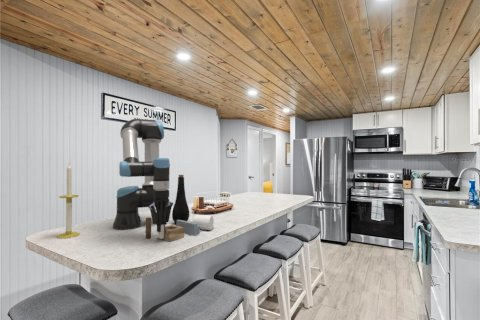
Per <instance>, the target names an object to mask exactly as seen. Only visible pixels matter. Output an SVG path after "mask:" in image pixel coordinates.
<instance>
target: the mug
mask: <svg viewBox="0 0 480 320" xmlns="http://www.w3.org/2000/svg"><path fill="white" fill-rule="evenodd" d="M192 223H197V225H198V226H200V231H201V230H202V231H203V230H204V231H212V230H213V227H214V216H213V215H206V214H205V215H204V214H194V216H193V218H192Z"/></svg>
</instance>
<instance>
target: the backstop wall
mask: <svg viewBox="0 0 480 320" xmlns="http://www.w3.org/2000/svg"><path fill="white" fill-rule="evenodd" d="M175 225H176V226H181V227H184V235H190V236H193V237H194V236H195V237H196V236H198V234H201V230H200V226H198V225H197V223H192V222H191V221H189V220H188V221H183V220H176V224H175Z"/></svg>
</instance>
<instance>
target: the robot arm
mask: <svg viewBox="0 0 480 320" xmlns="http://www.w3.org/2000/svg"><path fill="white" fill-rule="evenodd" d="M164 128H165V127H164V125H163V122H162V121H160V120H158V119H157V120H156V119H146V118H145V119H142V118H133V119H132V118H131V119H130V120H128V121H126V122H125V123H124V124H123V125H122V126H121V129H120V132H119V133H120V138H121V140H122V160H123V161H119V163H118V164H119V166H118V168H119V169H118V170H119V176H120V177H123V178H124V177H125V178H130V177H131V178H133V177H144V182H143V183H142V185H141V187H139V185H131V186H124V187H120V188H118V189H117V191H116V197H115V198H116V213H115V214H116V215H115V216H114V220H113V224H112V226H113V227H112V228H113V229H115V230H121V231H122V230H133V229H137V228H140V227H141V226H142V220H141V216H140V214H139V209H140V208H148V209H149V210H150V214H151V222H152V224H153V225H156V232H157V238H158V239H160V240H163V238H164V231H165V226H167V224H168V223H169V221H170V218H171V217H170V216H171V212H172V208H173V206H174V203H173V201H170V199H169V198H170V190H169V189H170V167H171V163H170V158H168V157H160V144H161V143H162V140H164V137H165V129H164ZM138 138H139V139H141V141H142V143H143V144H144V161H140V156H139V146H138Z"/></svg>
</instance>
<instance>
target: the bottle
mask: <svg viewBox="0 0 480 320" xmlns="http://www.w3.org/2000/svg"><path fill="white" fill-rule="evenodd" d="M185 188H186V187H185V177H184V174H178V177H177V191H176V197H175V201H174V203H173V206H172V210H171V212H172V213H171V217H172V221H173V222H174V225H176V220H183V221H188V222H189V218H190V208H189V205H188V202H187V197H186V189H185Z"/></svg>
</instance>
